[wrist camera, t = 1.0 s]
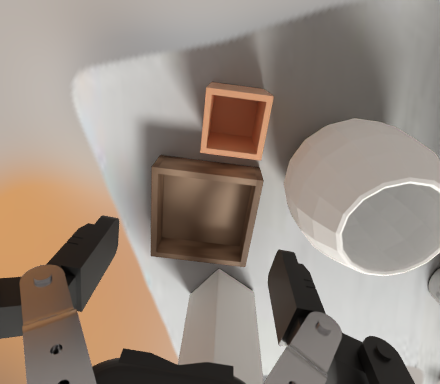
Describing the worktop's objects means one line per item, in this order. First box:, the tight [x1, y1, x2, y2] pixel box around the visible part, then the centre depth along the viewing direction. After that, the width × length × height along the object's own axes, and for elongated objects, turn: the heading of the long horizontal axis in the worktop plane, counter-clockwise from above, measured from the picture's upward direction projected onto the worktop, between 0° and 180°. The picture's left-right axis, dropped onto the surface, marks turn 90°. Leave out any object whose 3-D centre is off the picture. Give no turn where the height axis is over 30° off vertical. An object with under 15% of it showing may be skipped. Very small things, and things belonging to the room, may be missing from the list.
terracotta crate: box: [200, 82, 274, 160], centre depth 26 cm, size 6×6×7 cm
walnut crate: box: [151, 155, 263, 267], centre depth 33 cm, size 12×12×4 cm
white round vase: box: [284, 118, 440, 276], centre depth 26 cm, size 13×13×14 cm
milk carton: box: [178, 269, 264, 384], centre depth 33 cm, size 7×7×19 cm
